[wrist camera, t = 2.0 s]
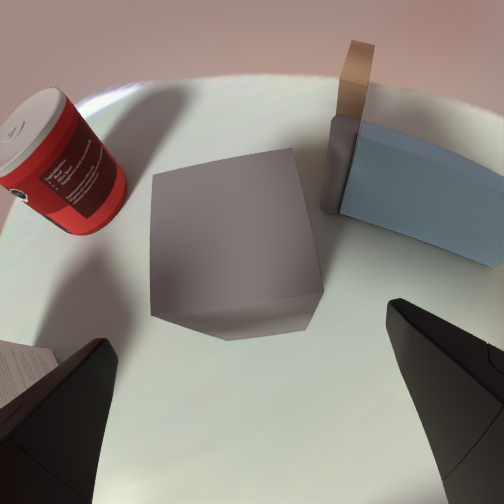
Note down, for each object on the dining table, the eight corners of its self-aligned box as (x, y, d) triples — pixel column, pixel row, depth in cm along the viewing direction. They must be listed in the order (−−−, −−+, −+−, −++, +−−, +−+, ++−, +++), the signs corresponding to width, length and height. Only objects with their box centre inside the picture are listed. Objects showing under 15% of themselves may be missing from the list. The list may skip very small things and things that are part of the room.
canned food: (62, 186, 26) (-4, 123, 15) (126, 152, 26) (68, 70, 15) (62, 251, 23) (-27, 194, 13) (134, 217, 23) (53, 131, 13)
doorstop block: (305, 330, 18) (324, 291, 8) (227, 340, 19) (150, 315, 8) (293, 255, 20) (291, 148, 10) (219, 267, 20) (153, 175, 10)
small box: (23, 377, 19) (-68, 363, 9) (53, 347, 20) (-48, 324, 10) (61, 455, 16) (-33, 473, 6) (97, 433, 17) (-9, 453, 7)
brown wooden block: (343, 191, 21) (367, 86, 12) (325, 186, 21) (339, 79, 12) (355, 146, 22) (374, 45, 13) (339, 141, 23) (351, 39, 14)
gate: (318, 211, 21) (328, 129, 13) (323, 195, 21) (334, 111, 13) (489, 270, 17) (556, 226, 10) (490, 254, 18) (554, 205, 10)
